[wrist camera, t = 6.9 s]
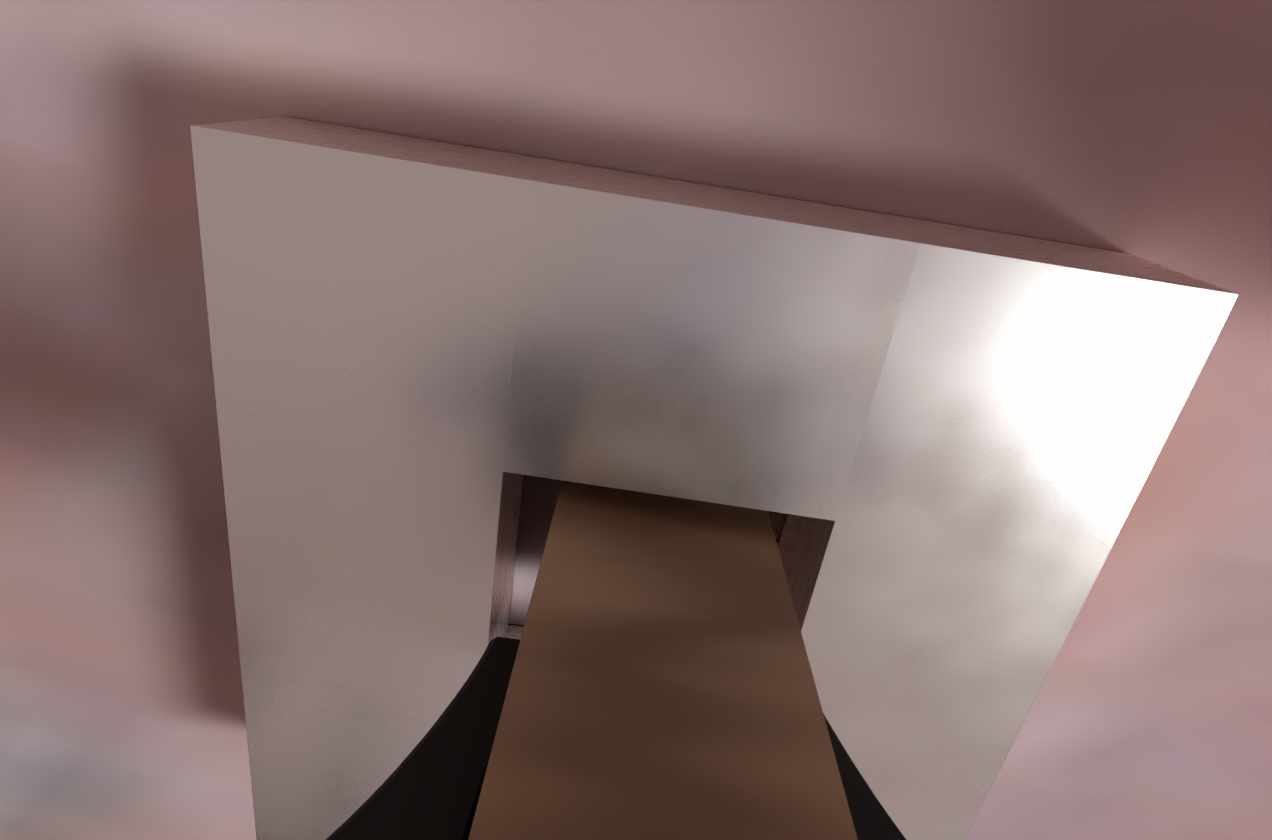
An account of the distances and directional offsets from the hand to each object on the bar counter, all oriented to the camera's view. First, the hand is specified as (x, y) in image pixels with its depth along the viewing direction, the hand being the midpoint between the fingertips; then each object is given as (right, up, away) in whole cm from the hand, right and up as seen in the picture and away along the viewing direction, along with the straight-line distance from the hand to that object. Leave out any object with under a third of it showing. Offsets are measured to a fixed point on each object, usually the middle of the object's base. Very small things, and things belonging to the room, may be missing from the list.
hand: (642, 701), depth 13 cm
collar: (0, +2, +4) cm, 5 cm away
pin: (0, +2, +3) cm, 3 cm away
